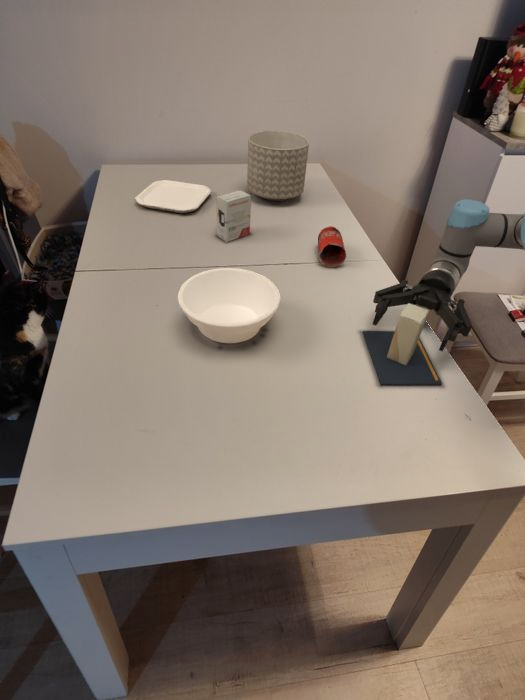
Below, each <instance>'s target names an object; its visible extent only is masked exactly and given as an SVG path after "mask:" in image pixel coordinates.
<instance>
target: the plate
mask: <svg viewBox="0 0 525 700" xmlns="http://www.w3.org/2000/svg"><path fill="white" fill-rule="evenodd" d="M212 192H213V191H212V190H211V188H209V187H208V186H206V185H204V184H198V183H197V184H196V183H189V182H183V181H178V180H177V181H176V180H169V179H163V180H155V181H153V182H151V183H150V184H149V185H148V186H147V187H146V188H145V189H143V190H142V191H141V192H140V193H138V195H136V196H135V197H134V201H135V202H136V203H137V204H138V205H139V206H141V207H145V208H146V209H147V208H148V209H152V210H158V211H166V212H171V213H178V214H186V213H191V212H194V211H197V210H198V209H199V208H200V207H201V206H202V204H203V203H204V202H205V201H206V200H207V198H208V197H209V196H210V195H211V194H212Z"/></svg>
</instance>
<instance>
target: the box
mask: <svg viewBox="0 0 525 700" xmlns="http://www.w3.org/2000/svg"><path fill="white" fill-rule="evenodd" d="M429 312H430V309H427V308H425V307H422V306H419V305H412V304H410V303H408V304H406V305H405V307H404V308H403V309H402V311H401V313H400V314H399V317H398V320H397V324H396V326H395V329H394V331H395V333H394V336H393V339H392V342H391V345H390V348H389V351H388V355H387V358H389V359H392V360H394V361H396V362H399V363H401V364H403V365H407V364H408V362H409V360H410V359H411V357H412V355H413V353H414V350H415V348H416V345H417V342H418V340H419V338H420V337H421V334H422V331H423V329H424V326H425V323H426V321H427V318H428V315H429V314H430V313H429Z"/></svg>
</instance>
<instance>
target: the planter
mask: <svg viewBox="0 0 525 700" xmlns="http://www.w3.org/2000/svg"><path fill="white" fill-rule="evenodd" d="M247 139H248V141H247V142H248V145H247V173H246V175H247V176H246V177H247V179H246V188H247V190H248V191H249V192H250V193H252V194H254V195H255V196H258V197H260V198H261V199H264V200H267V201H271V202H283V201H286V200H289V199H293V198H297V197H299V196H300V195H302V194H303V193H304V190H305V183H306V174H307V173H306V172H307V165H308V157H309V147H310V140H309V139H308V138H307V137H306V136H304V135H301V134H299V133H296V132H291V131H283V130H262V131H257V132H253V133H252V134H250V135H249V136H248V138H247Z"/></svg>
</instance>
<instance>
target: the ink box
mask: <svg viewBox="0 0 525 700" xmlns="http://www.w3.org/2000/svg"><path fill="white" fill-rule="evenodd" d="M251 209H252V195H251V194H249V193H247V192H245V191H244V190H241V189H240V190H236V191H232V192H229V193H225V194H221V195H217V196H216V233H217V235H216V236H217V237H219V238H220V239H221V240H223V241H224V242H226V243H228V242H231V241H234V240H237V239H240V238H243V237H246V236H248V235H250V234H251Z"/></svg>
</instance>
